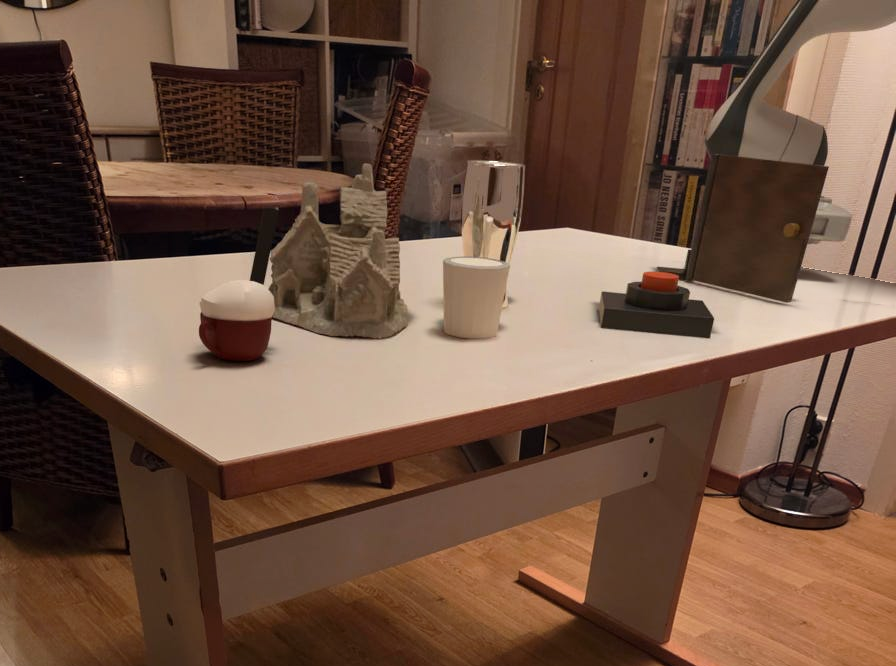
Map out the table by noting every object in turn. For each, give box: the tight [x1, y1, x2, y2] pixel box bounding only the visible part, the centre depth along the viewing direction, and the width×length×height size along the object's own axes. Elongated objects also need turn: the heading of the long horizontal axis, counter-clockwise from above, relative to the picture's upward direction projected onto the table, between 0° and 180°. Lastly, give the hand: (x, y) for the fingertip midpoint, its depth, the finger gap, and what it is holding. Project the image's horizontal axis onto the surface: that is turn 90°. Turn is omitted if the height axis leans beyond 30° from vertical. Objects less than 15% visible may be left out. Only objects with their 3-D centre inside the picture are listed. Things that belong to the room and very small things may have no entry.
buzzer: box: [598, 281, 715, 339], centre depth 99 cm, size 12×10×4 cm
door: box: [685, 154, 830, 304], centre depth 116 cm, size 18×2×16 cm, turn 35°
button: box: [641, 271, 680, 292], centre depth 98 cm, size 4×4×2 cm
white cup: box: [442, 255, 511, 339], centre depth 89 cm, size 7×7×7 cm
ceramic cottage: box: [268, 163, 409, 340], centre depth 89 cm, size 16×16×15 cm
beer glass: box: [460, 159, 526, 310], centre depth 100 cm, size 7×7×15 cm
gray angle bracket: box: [655, 249, 693, 282], centre depth 128 cm, size 5×4×4 cm
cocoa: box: [198, 205, 280, 362], centre depth 75 cm, size 10×6×12 cm, turn 126°
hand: (786, 226), depth 122 cm, fingers closed
